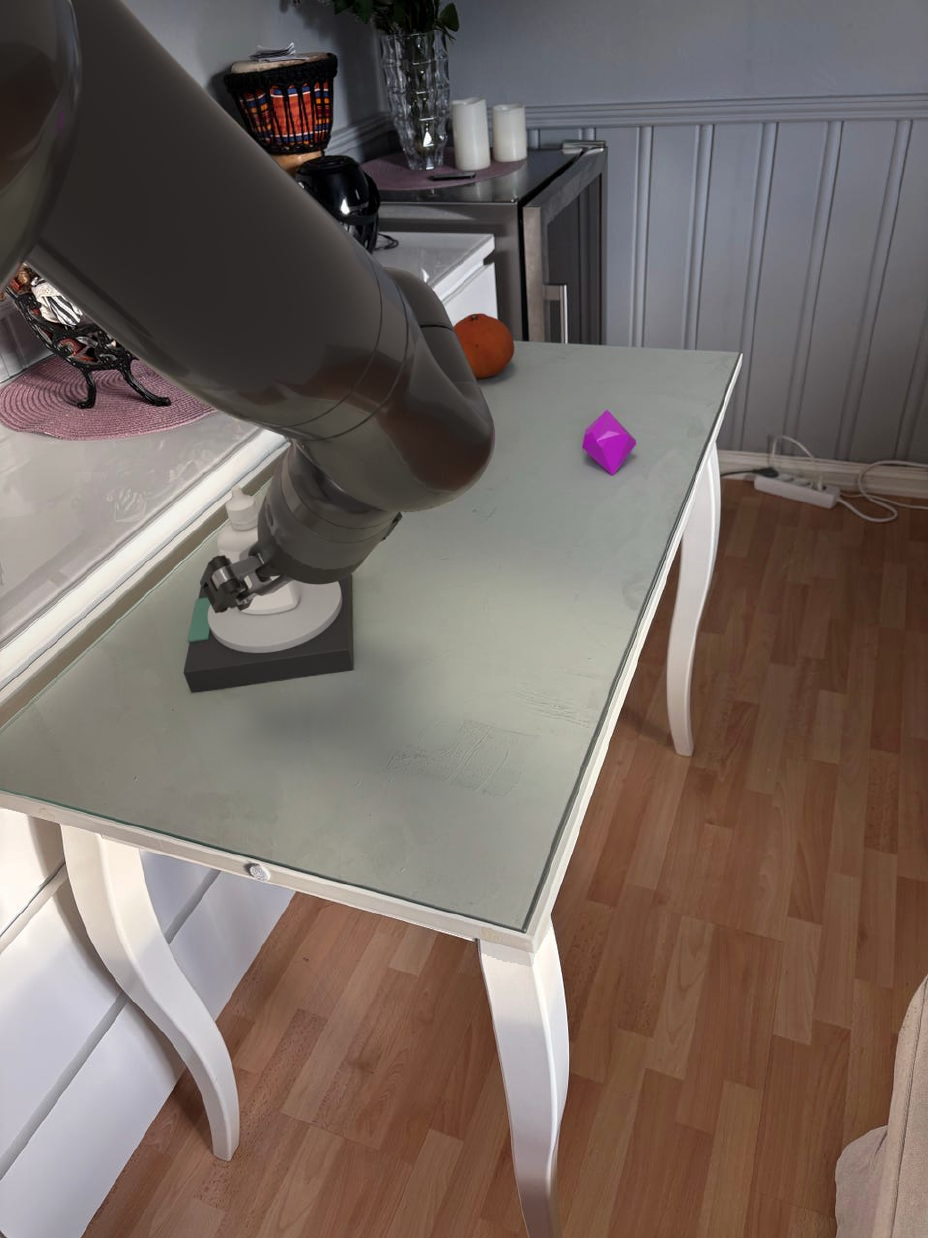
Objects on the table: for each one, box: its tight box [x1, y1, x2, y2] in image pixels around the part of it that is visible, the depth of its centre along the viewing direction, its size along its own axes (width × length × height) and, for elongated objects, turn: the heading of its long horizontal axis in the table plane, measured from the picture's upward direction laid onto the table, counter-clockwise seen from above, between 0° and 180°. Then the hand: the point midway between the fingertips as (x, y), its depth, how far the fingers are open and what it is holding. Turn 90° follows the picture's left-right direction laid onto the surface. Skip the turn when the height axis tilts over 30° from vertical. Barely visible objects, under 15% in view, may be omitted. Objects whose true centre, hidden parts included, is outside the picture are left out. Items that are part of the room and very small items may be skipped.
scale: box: [182, 573, 354, 694], centre depth 82 cm, size 14×14×3 cm
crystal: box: [581, 409, 637, 476], centre depth 100 cm, size 5×5×5 cm
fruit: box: [453, 312, 515, 379], centre depth 120 cm, size 9×9×8 cm
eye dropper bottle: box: [216, 485, 300, 615], centre depth 78 cm, size 4×6×12 cm
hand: (287, 575), depth 71 cm, fingers open, 8 cm apart
